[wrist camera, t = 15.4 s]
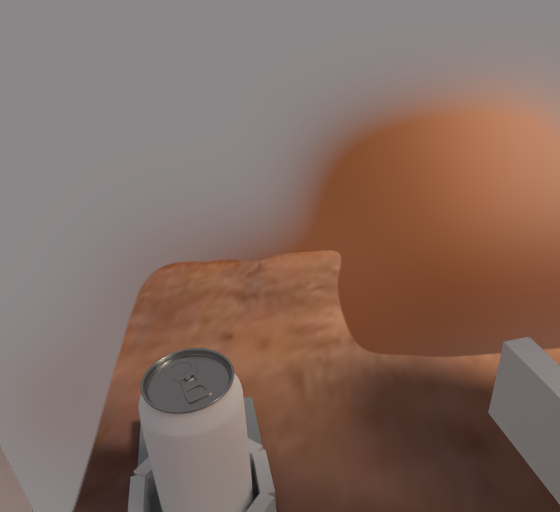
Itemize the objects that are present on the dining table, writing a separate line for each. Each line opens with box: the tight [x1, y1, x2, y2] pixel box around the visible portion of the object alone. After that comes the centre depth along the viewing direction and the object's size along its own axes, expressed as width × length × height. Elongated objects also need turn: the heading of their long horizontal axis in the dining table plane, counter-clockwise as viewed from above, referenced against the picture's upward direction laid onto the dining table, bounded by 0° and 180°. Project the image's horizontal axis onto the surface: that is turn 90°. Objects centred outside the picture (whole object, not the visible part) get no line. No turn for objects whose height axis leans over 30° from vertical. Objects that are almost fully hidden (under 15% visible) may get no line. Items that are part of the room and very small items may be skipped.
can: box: [139, 348, 253, 512], centre depth 31 cm, size 6×6×12 cm
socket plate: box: [128, 396, 277, 512], centre depth 33 cm, size 10×20×4 cm, turn 12°
